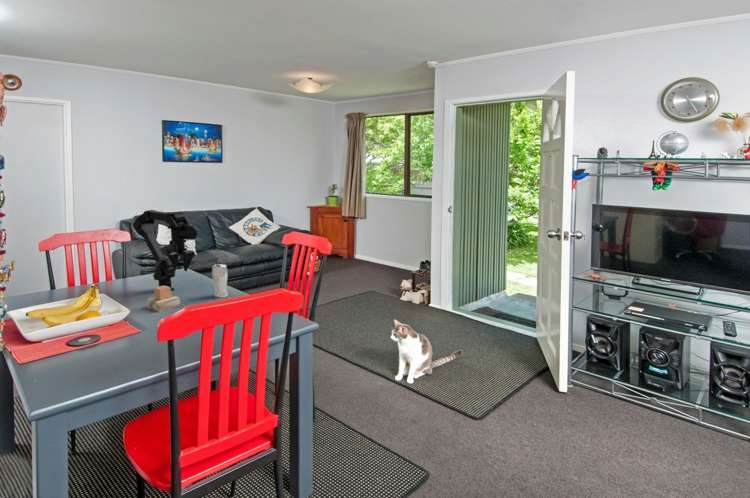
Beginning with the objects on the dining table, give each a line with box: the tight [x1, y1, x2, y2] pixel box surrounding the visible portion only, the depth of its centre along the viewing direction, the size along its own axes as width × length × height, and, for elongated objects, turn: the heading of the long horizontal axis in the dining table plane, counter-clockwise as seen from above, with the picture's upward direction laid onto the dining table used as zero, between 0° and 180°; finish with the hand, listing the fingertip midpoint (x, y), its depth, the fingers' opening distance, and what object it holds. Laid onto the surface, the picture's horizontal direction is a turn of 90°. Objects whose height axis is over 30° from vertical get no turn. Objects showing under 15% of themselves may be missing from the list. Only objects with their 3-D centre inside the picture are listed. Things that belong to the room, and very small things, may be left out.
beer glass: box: [211, 263, 229, 298], centre depth 230 cm, size 7×7×15 cm
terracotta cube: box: [153, 285, 172, 300], centre depth 214 cm, size 5×5×5 cm
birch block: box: [145, 294, 181, 313], centre depth 214 cm, size 10×10×4 cm
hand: (180, 269), depth 233 cm, fingers open, 9 cm apart
